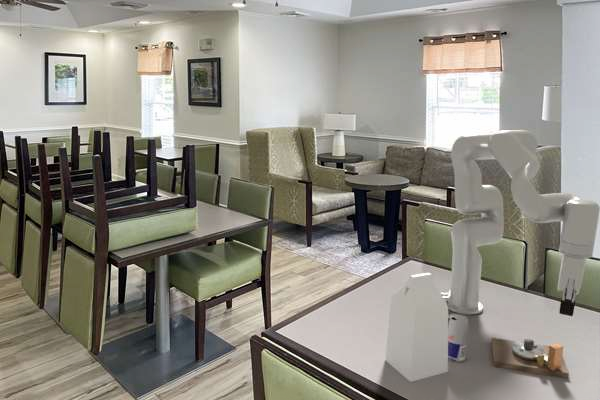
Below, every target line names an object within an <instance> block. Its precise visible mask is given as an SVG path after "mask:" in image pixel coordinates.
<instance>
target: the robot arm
mask: <svg viewBox="0 0 600 400" xmlns="http://www.w3.org/2000/svg"><path fill="white" fill-rule="evenodd" d="M538 143H539V142H538V140H537V138H536V136H535V135H534V134H533V133H532V132H531V131H529V130H525V129H513V130H512V129H511V130H509V129H508V130H500V131H499V130H498V131H497V132H494V133H493V132H491V133H487V132H486V133H484V132H483V133H481V132H478V133H477V132H476V133H467V134H464V135H461V136H459V137H457V139H455V140H454V143H453V145H452V146H451V151H450V152H451V154H450V155H451V156H450V157H451V163H452V166H453V167H452V169H453V172H454V203H455V208H456V211H457V212H458V213H459V214H462V215H479V214H480V215H481V217H469V218H468V217H467V218H462V219H459V220H457V221H456V222H454V223H453V224H452V227H451V230H450V234H451V235H450V236H451V241H452V242H451V243H452V259H451V260H452V261H451V275H450V277H451V278H450V286H449V288H450V289H449V291H448V292H440V293H441V295H442V296H443V298H444V299H445V301H446V303H447V306H448V311H451V312H454V313H455V314H461V315H469V316H470V315H471V316H473V315H477V314H480V313H482V312H483V310H484V305H483V303H481V302H479V300H480V291H481V289H480V288H481V280H482V279H481V278H482V264H483V261H482V260H483V259H482V256H481V254H480V252H479V250H478V249H479V248H478V247H481V246H487V245H488V246H489V245H495V244H498V243H499V242H500V241H501V240H502V239H503V236H504V230H505V228H504V226H505V225H504V223H505V221H504V219H505V218H504V217H505V216H504V198H503V195H502V193H501V190H500V189H499V188H497V186H494V185H492V184H483V183H482V171H481V168H480V167H479V165H478V164H477V162H476V161H480V160H481V161H483V160H496V161H497V162H498V164H499V165H500V166H501V167H502V169H504V171H505V172H506V173H507V174H508V177H510V179H511V183H510V191H511V197H512V200H513V202H514V204H515V205H516V206H517V208H518V209H519V210H520V211H521V213H522V214H523V216H525V217H526V218H527V219H529V221H531V222H533V223H536V224H546V223H547V224H548V223H555V222H562V228H561V233H560V242H559V248H558V252H559V253H560V254H562V257H561V261H560V270H559V274H558V275H559V277H558V283H557V287H556V288H557V289H556V290H557V291H558V292H562V297H561V298H560V305H559V314H560V315H564V316H570V317H573V316H574V312H575V305H576V296H577V295H579V293H580V290H581V287H582V283H583V279H584V273H585V268H586V262H587V259H590V258H592V257H593V253H594V248H595V241H596V236H597V230H598V229H597V228H598V223H599V217H600V205H599V204H598V203H597V202H595V201H592V200H588V199H582V198H580V197H578V196H576V195H574V194H572V193H568V192H567V193H566V192H557V193H555V192H554V193H545V194H544V193H543V194H540V193H539V192H538V191H537V190H536V189H535V188H534V186H533V185H532V184H531V182H530V180H531V179H532V178H534V177H535V176H536V175H537V174H538V172H539V171H540V168H541V164H540V161H539V160H538V158H537V157H536V156H535V155H534V154H535V153H536V152H537V150H538Z"/></svg>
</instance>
